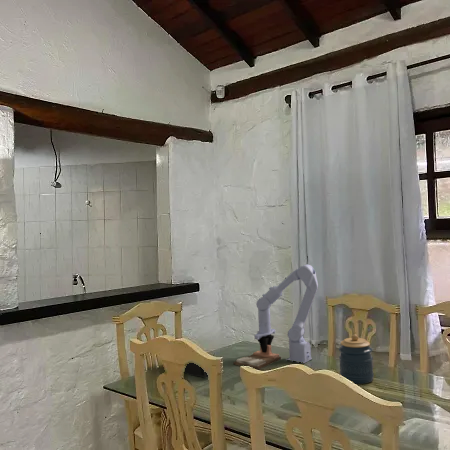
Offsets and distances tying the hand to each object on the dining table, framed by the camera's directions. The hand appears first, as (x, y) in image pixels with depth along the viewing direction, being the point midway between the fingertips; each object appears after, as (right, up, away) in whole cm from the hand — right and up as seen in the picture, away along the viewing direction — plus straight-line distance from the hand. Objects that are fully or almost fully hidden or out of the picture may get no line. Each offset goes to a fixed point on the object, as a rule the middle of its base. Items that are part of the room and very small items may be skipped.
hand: (266, 351), depth 215 cm
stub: (0, -2, 0) cm, 2 cm away
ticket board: (-4, -3, -5) cm, 8 cm away
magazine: (-36, -5, -15) cm, 39 cm away
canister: (+33, -2, -34) cm, 47 cm away
